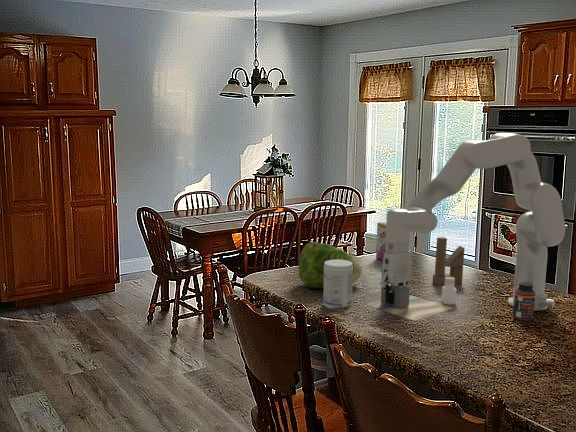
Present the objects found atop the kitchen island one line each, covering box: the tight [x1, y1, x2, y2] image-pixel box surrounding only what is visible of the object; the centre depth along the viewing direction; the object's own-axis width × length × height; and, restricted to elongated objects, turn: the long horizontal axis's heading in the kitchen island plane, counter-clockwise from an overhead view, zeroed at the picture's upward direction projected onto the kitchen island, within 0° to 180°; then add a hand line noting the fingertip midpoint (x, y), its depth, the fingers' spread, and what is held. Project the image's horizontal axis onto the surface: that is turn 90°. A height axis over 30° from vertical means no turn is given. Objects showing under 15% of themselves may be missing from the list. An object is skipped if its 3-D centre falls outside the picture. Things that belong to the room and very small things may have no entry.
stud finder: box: [380, 284, 411, 309], centre depth 189 cm, size 8×4×6 cm, turn 40°
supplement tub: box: [322, 259, 354, 309], centre depth 191 cm, size 10×10×15 cm
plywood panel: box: [365, 294, 455, 322], centre depth 189 cm, size 20×20×1 cm
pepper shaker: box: [440, 277, 457, 305], centre depth 193 cm, size 4×4×10 cm
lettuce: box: [298, 241, 363, 289], centre depth 213 cm, size 17×23×16 cm
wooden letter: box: [432, 236, 465, 287], centre depth 218 cm, size 4×11×18 cm, turn 106°
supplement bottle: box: [512, 282, 535, 322], centre depth 181 cm, size 6×6×11 cm
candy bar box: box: [375, 221, 387, 262], centre depth 254 cm, size 11×5×16 cm, turn 30°
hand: (394, 301), depth 189 cm, fingers closed on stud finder, 4 cm apart
